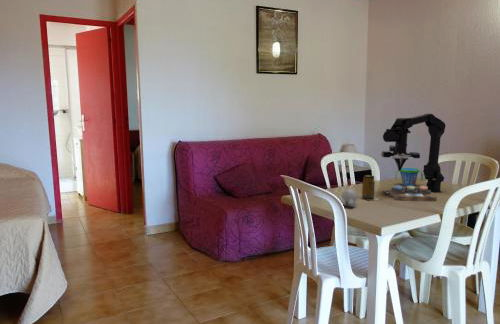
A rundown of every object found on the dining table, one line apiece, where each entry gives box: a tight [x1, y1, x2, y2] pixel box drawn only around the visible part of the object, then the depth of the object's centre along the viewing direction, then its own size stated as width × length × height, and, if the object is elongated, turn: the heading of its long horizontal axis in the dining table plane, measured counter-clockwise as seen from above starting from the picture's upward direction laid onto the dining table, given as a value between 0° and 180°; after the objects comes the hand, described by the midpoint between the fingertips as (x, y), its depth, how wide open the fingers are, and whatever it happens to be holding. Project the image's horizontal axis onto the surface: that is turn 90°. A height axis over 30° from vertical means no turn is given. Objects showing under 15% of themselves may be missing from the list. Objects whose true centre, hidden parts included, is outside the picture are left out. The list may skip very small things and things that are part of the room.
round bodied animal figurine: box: [340, 188, 358, 208], centre depth 192 cm, size 7×12×8 cm, turn 145°
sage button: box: [406, 185, 416, 190], centre depth 212 cm, size 4×4×2 cm
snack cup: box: [395, 167, 424, 187], centre depth 241 cm, size 16×10×10 cm
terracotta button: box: [418, 185, 428, 190], centre depth 211 cm, size 4×4×2 cm
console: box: [388, 187, 438, 202], centre depth 209 cm, size 20×14×4 cm
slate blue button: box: [393, 184, 403, 190], centre depth 212 cm, size 4×4×2 cm
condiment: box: [358, 174, 379, 201], centre depth 207 cm, size 7×8×12 cm
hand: (399, 170), depth 213 cm, fingers closed
